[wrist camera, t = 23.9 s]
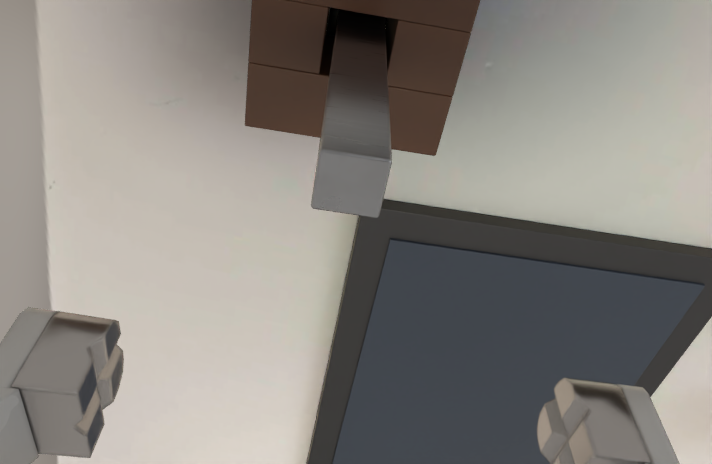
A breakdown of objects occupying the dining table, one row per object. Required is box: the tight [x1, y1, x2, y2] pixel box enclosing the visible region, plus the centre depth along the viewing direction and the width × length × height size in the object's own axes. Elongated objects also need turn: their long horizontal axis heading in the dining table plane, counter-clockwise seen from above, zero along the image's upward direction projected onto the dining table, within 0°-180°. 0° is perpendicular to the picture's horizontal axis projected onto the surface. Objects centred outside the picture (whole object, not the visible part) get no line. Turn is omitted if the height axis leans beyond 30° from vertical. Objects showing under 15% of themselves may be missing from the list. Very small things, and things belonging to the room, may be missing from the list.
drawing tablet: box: [307, 200, 712, 464], centre depth 47 cm, size 40×24×1 cm, turn 170°
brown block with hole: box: [245, 0, 480, 156], centre depth 26 cm, size 9×9×5 cm
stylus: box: [311, 9, 392, 218], centre depth 22 cm, size 2×2×15 cm
